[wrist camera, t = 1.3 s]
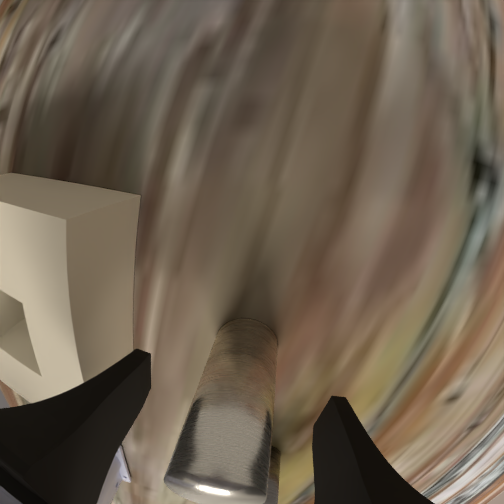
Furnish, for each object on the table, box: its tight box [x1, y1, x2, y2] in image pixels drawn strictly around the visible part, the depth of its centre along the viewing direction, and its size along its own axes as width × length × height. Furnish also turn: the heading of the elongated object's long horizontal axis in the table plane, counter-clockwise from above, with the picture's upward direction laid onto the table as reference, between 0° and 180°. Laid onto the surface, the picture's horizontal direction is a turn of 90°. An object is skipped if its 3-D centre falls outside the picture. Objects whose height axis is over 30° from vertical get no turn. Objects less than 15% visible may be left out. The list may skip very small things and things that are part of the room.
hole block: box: [0, 173, 141, 403], centre depth 11 cm, size 12×10×5 cm
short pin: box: [263, 446, 281, 504], centre depth 14 cm, size 3×3×4 cm
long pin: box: [164, 318, 278, 504], centre depth 10 cm, size 3×3×8 cm
